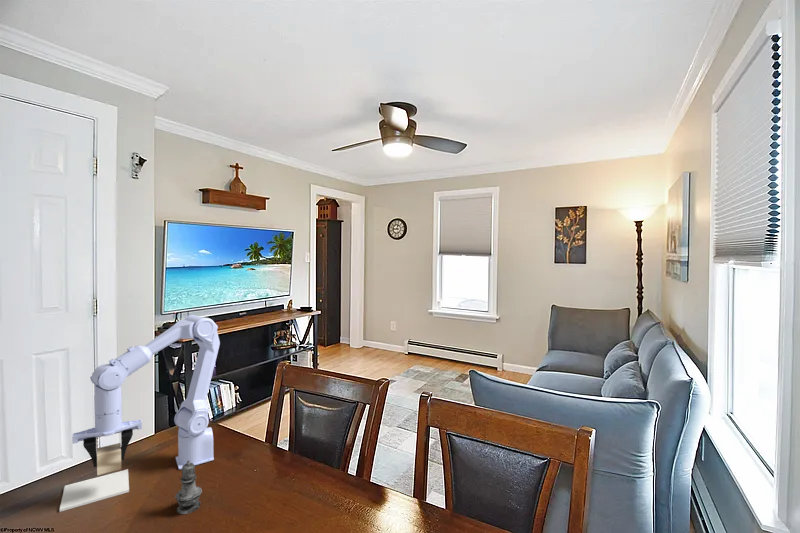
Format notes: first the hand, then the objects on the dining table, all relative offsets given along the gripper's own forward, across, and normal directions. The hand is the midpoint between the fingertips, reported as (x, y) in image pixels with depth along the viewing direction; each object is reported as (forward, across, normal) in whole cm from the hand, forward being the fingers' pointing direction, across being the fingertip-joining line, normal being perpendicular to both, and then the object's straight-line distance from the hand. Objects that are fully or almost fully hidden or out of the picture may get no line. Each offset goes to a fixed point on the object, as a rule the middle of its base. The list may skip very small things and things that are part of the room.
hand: (109, 462), depth 103 cm
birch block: (+2, 0, 0) cm, 2 cm away
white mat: (+8, -3, +4) cm, 10 cm away
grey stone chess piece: (+9, +16, -18) cm, 26 cm away
